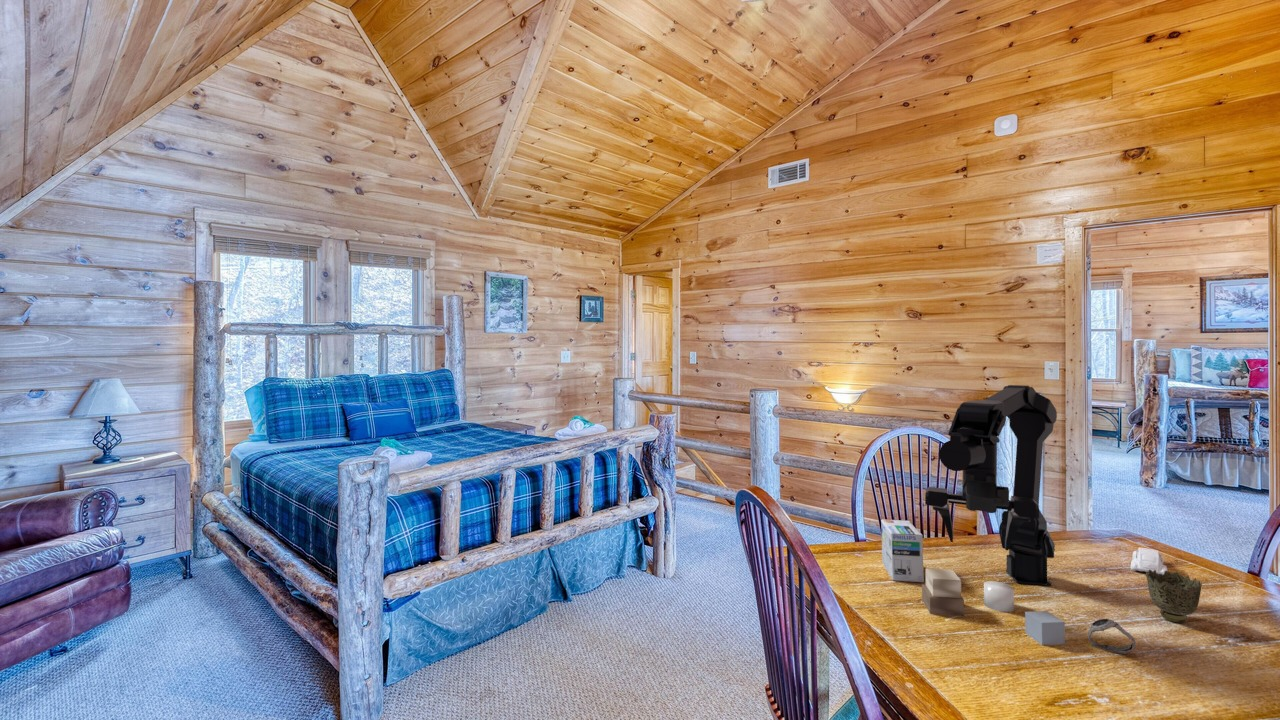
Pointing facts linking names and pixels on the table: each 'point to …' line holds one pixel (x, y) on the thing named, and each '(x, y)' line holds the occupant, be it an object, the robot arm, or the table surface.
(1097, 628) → the wristwatch
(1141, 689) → the table surface
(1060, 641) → the block
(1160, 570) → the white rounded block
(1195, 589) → the cup
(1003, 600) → the white cylinder
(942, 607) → the tower base
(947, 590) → the tower top
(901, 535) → the light bulb box
